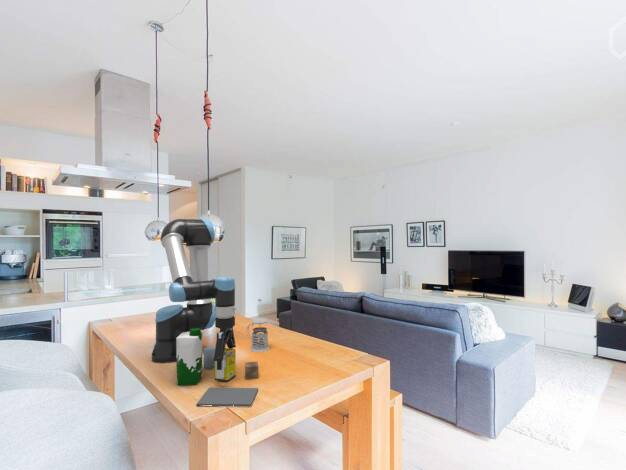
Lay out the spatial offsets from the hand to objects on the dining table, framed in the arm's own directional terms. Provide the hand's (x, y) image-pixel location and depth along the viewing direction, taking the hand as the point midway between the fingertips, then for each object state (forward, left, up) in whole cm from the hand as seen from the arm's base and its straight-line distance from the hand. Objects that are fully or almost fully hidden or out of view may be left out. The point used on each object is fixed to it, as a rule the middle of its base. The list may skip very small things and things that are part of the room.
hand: (225, 370), depth 131 cm
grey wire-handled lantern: (+6, +36, -3) cm, 37 cm away
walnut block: (+10, +2, -3) cm, 11 cm away
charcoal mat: (+6, -16, -3) cm, 17 cm away
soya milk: (-13, -3, -3) cm, 14 cm away
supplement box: (0, 0, -3) cm, 3 cm away
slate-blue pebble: (-10, +11, -3) cm, 15 cm away
